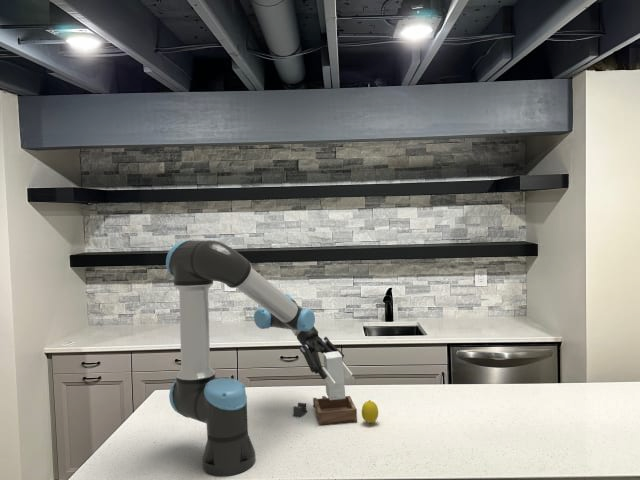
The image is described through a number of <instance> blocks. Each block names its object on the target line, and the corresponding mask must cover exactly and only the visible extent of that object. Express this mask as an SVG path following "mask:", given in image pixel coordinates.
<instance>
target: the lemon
mask: <svg viewBox="0 0 640 480" xmlns="http://www.w3.org/2000/svg"><path fill="white" fill-rule="evenodd" d="M361 416H362V417H361V418H362V419H363V420H364V421H365V422H366V423H368V424H369V425H371V424H373V423H374V422H376V420H377V419H378V417H379V408H378V406H377V404H376V403H375V402H374V401H372V400H369V399H368V401H365V402H364V403H363V404H362V408H361Z"/></svg>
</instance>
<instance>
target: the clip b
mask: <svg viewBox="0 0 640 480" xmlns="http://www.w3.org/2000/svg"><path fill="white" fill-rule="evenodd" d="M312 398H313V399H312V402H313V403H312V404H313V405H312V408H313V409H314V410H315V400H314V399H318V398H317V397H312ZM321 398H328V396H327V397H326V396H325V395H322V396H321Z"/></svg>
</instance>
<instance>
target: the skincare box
mask: <svg viewBox="0 0 640 480" xmlns="http://www.w3.org/2000/svg"><path fill="white" fill-rule="evenodd" d="M339 351H340V350H339ZM339 351H335V352H327V353H322V355H323V368H325V369H326V370H327V372H328V373H329V374H330V376H331V377H332V378H333V380H334V381H335V384H334V385H333V386H332V387H331V388H330V387H329V386H328V384H327V383H326V382H325V393H326V395H327V398H329V400H338V399H345V396H346V387H345V376H344V373H343V361H344V360H343V359H342V355H341V354H340V353H339ZM342 360H343V361H342Z"/></svg>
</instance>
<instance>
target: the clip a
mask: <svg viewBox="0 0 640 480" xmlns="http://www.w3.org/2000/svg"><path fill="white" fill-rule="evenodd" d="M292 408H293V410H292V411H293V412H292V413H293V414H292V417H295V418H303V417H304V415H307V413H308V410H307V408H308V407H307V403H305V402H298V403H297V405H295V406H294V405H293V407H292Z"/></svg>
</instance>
